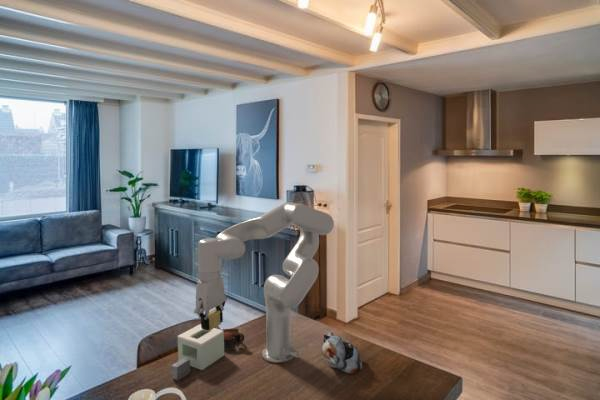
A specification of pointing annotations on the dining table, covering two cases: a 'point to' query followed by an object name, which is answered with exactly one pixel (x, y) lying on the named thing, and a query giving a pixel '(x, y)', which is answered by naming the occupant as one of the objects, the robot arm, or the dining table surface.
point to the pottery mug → (229, 340)
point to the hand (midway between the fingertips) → (212, 324)
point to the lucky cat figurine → (341, 354)
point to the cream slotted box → (201, 346)
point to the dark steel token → (180, 369)
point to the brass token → (214, 319)
